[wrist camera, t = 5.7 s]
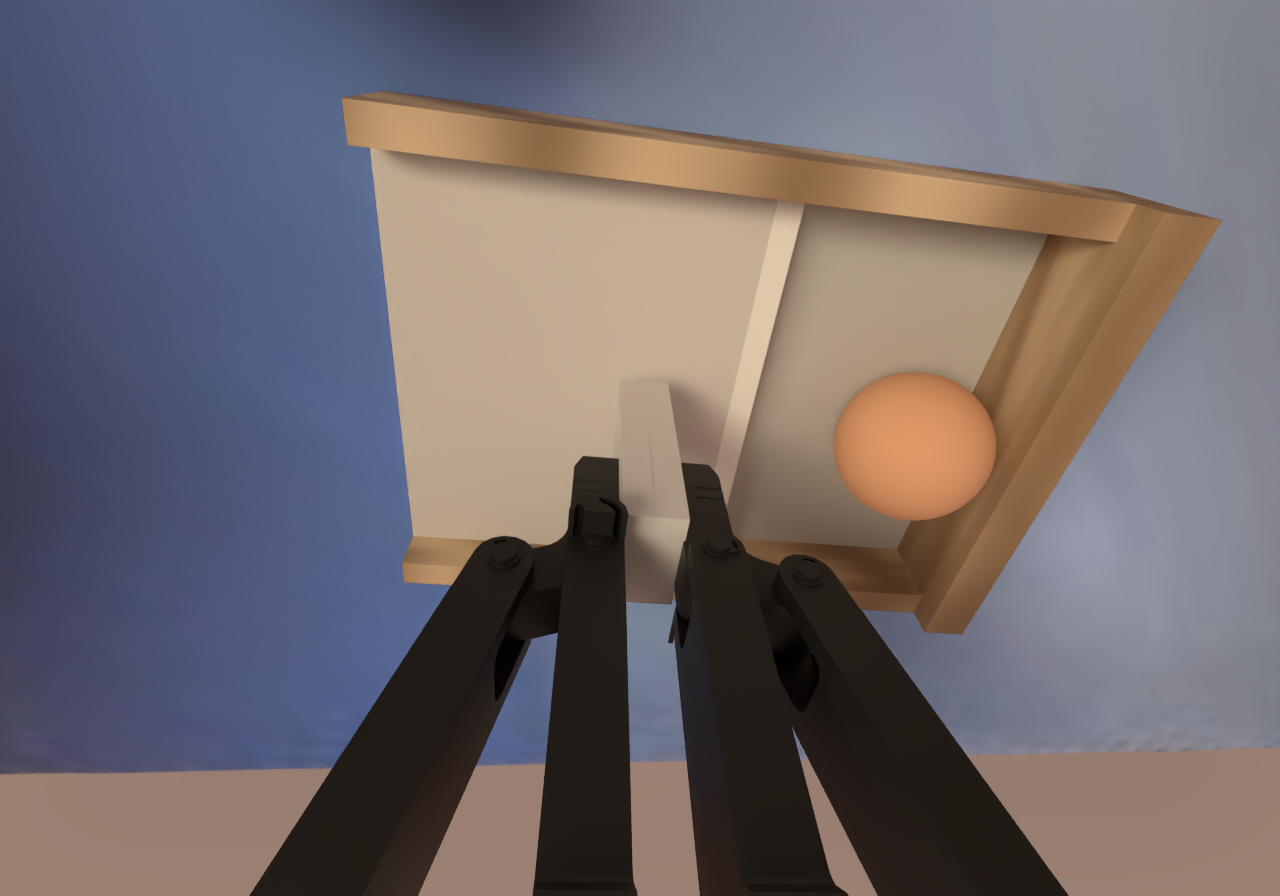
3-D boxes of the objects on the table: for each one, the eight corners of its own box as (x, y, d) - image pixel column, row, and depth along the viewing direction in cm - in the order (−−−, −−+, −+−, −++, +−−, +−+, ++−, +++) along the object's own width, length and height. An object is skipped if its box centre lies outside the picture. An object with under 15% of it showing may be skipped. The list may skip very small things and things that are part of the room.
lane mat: (423, 511, 25) (413, 535, 23) (387, 131, 17) (369, 137, 16) (894, 544, 27) (907, 568, 25) (1049, 217, 19) (1080, 229, 18)
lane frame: (425, 529, 25) (396, 602, 22) (383, 91, 16) (324, 100, 13) (919, 563, 27) (962, 634, 24) (1113, 190, 19) (1222, 220, 15)
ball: (891, 458, 24) (789, 474, 23) (937, 344, 22) (827, 351, 20) (991, 537, 21) (879, 564, 19) (1061, 411, 18) (940, 428, 16)
